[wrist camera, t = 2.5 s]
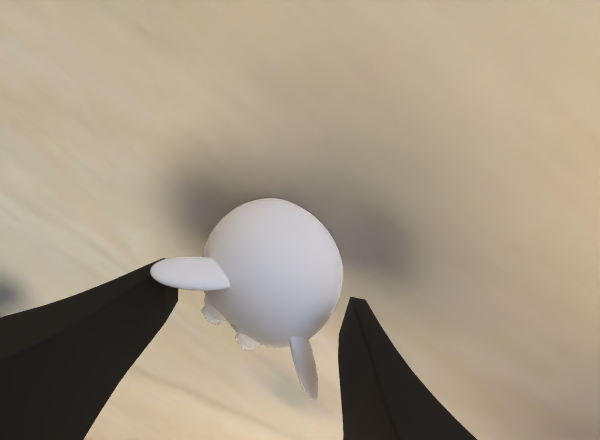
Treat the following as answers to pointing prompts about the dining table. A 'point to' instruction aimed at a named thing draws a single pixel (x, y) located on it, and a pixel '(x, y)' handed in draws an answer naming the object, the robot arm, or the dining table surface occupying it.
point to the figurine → (266, 279)
